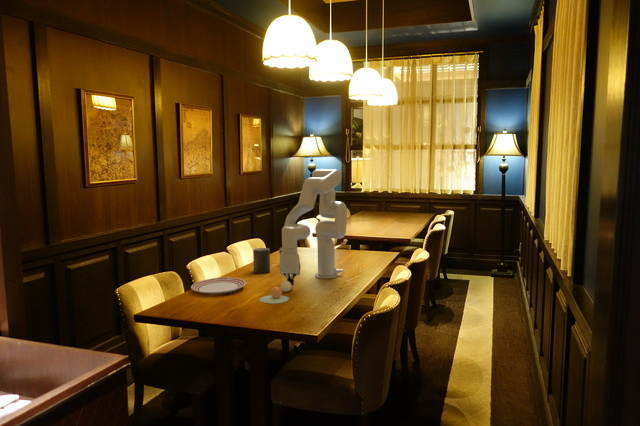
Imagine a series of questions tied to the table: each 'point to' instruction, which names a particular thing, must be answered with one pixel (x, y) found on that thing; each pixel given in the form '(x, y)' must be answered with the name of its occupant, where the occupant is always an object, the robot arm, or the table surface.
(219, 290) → the dinner plate
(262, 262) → the pillar candle
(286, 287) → the cue ball
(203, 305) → the table surface
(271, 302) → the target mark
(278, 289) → the object ball
